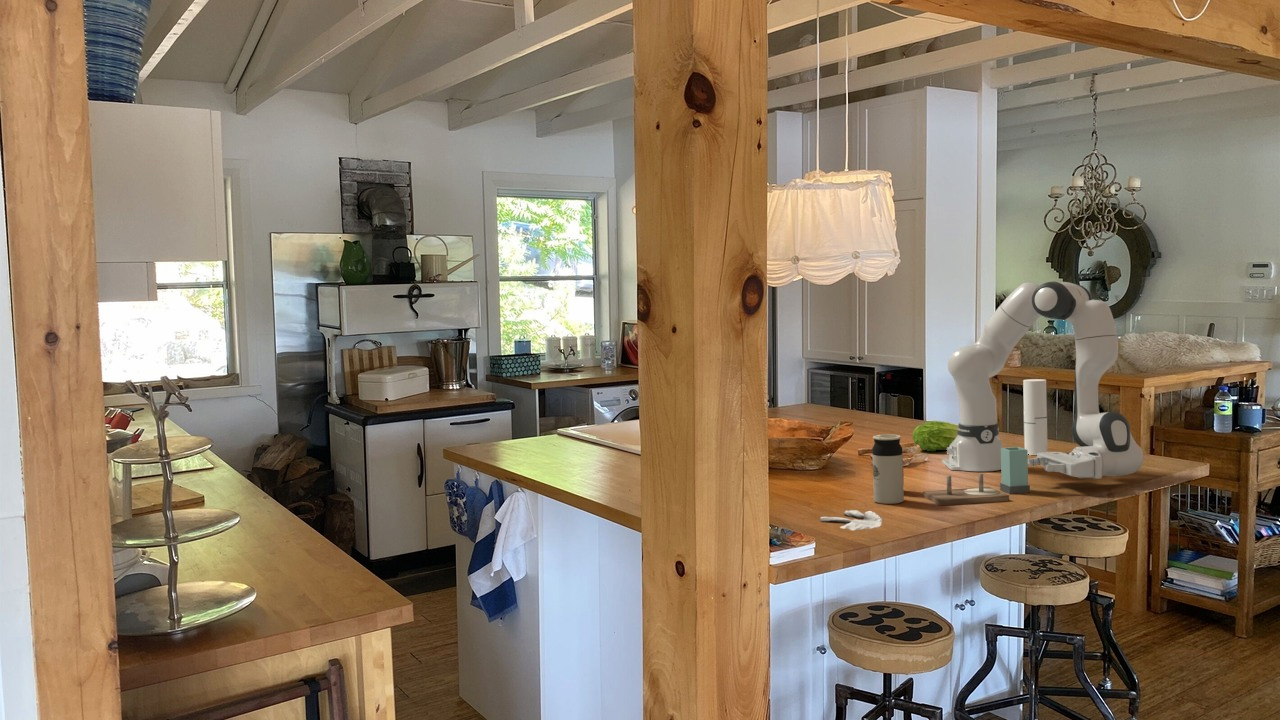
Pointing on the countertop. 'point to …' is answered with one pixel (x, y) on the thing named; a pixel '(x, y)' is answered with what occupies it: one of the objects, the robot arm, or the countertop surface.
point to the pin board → (965, 494)
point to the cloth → (869, 520)
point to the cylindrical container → (1035, 416)
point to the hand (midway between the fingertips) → (1037, 465)
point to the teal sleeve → (1014, 470)
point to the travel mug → (887, 469)
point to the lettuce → (935, 435)
